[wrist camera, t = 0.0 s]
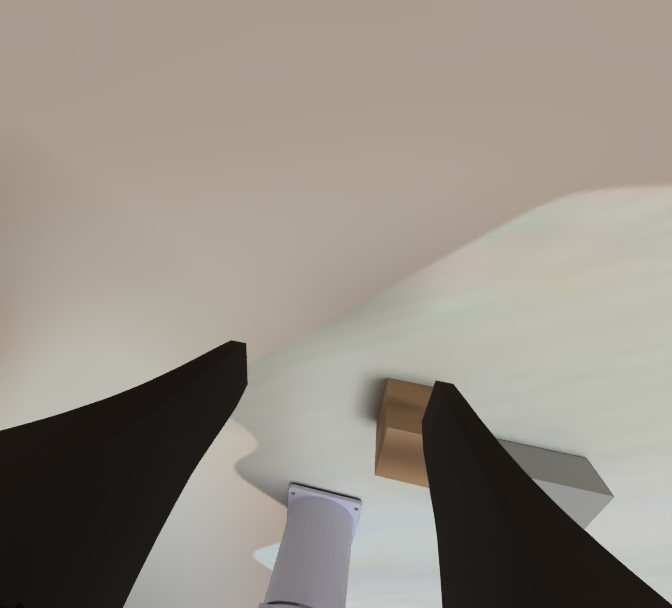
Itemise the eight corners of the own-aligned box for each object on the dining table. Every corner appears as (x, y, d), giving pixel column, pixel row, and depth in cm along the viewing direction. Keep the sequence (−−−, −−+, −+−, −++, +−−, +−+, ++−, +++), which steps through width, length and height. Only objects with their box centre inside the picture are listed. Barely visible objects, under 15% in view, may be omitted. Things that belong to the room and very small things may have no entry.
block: (433, 433, 24) (444, 491, 20) (376, 420, 25) (374, 475, 20) (450, 389, 22) (466, 444, 17) (387, 377, 22) (387, 427, 18)
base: (539, 519, 26) (556, 558, 24) (443, 496, 27) (449, 531, 24) (587, 458, 22) (614, 496, 20) (472, 433, 23) (484, 467, 21)
